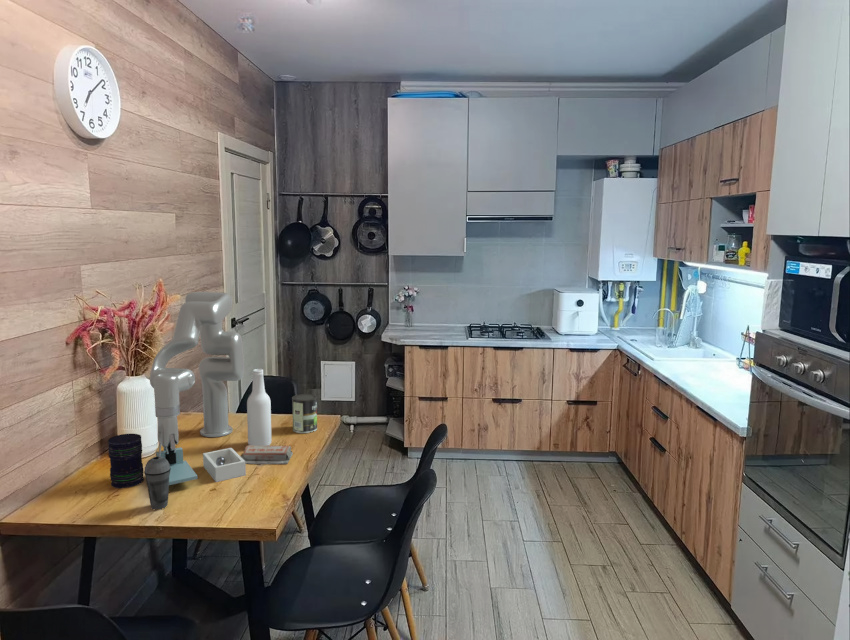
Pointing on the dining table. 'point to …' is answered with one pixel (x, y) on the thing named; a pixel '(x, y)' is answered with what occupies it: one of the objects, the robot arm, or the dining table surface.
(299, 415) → the coffee can
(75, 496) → the dining table surface
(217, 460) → the ball
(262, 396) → the alcohol
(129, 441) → the storage jar
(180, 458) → the lid
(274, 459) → the packaged product
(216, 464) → the ball
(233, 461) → the tub
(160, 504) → the beverage cup
